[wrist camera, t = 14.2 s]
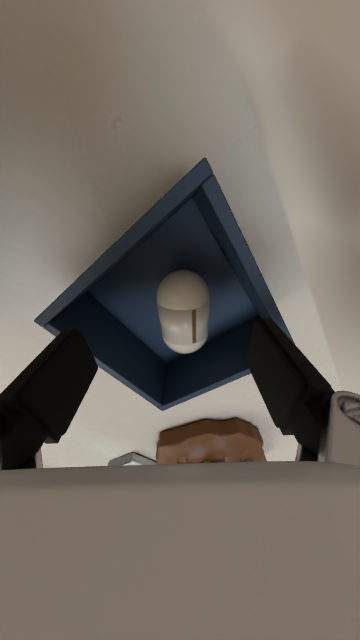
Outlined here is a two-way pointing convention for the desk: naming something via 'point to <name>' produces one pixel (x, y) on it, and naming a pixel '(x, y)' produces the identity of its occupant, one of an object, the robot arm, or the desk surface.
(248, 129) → the desk surface
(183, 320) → the white capsule
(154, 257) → the bin
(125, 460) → the hard drive
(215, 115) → the desk surface
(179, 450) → the plant
